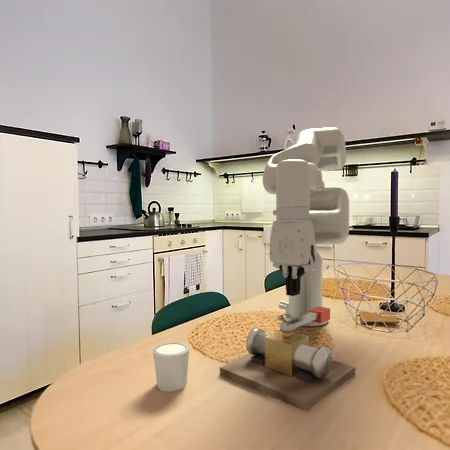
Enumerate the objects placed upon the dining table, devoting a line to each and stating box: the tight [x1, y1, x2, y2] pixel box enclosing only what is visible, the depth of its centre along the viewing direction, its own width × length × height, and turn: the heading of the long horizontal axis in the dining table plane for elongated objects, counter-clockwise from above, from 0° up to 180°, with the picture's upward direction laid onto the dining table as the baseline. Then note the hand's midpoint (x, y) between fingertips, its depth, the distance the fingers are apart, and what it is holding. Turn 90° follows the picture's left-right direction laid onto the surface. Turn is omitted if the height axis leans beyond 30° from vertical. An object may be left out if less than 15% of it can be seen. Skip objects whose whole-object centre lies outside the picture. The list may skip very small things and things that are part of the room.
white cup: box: [152, 342, 190, 393], centre depth 73 cm, size 7×7×7 cm
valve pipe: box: [245, 327, 333, 383], centre depth 76 cm, size 17×6×7 cm, turn 46°
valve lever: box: [279, 306, 331, 333], centre depth 81 cm, size 3×16×2 cm, turn 136°
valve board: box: [219, 353, 356, 412], centre depth 77 cm, size 20×18×2 cm
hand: (293, 294), depth 88 cm, fingers closed
